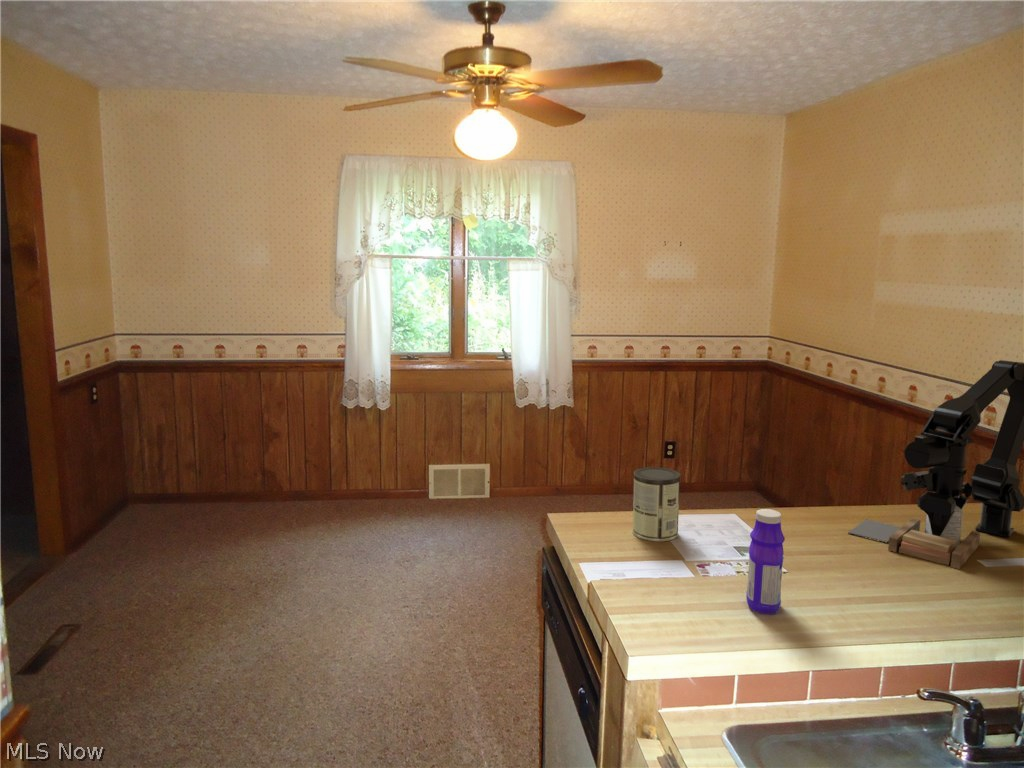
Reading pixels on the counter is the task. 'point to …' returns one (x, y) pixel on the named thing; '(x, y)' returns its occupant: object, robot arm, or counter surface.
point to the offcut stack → (927, 547)
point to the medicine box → (950, 527)
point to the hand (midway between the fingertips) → (941, 532)
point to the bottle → (765, 563)
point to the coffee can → (656, 504)
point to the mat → (874, 530)
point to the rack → (957, 555)
